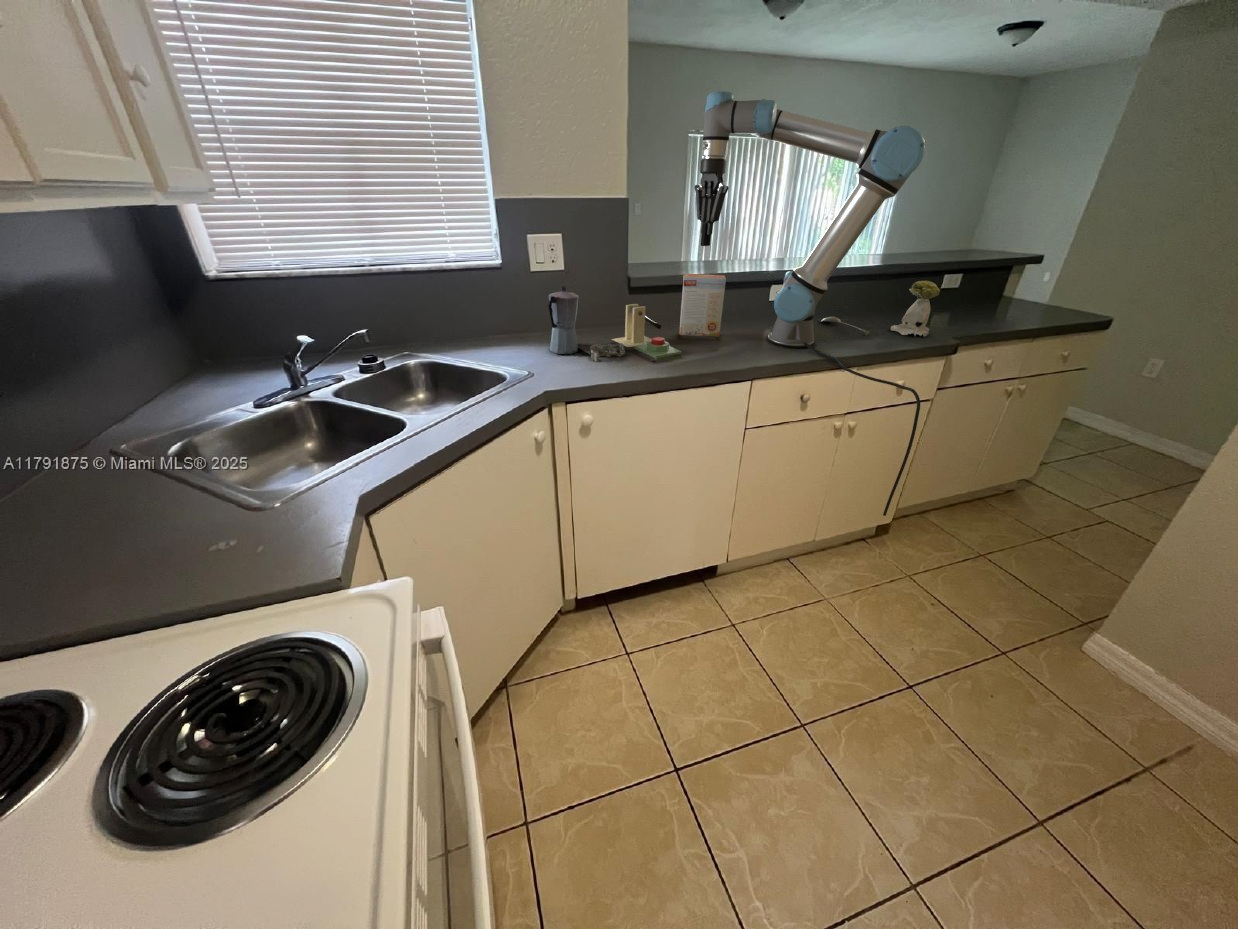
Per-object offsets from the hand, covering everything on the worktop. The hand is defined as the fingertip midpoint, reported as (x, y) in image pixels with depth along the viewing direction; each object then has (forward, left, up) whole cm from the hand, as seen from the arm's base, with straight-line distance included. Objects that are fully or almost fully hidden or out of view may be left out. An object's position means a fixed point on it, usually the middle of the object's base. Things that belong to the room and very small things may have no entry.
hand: (705, 245), depth 154 cm
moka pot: (+11, +46, -31) cm, 56 cm away
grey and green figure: (-32, -78, -31) cm, 90 cm away
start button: (-7, +22, -27) cm, 35 cm away
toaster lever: (+6, +19, -23) cm, 30 cm away
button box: (-7, +22, -30) cm, 38 cm away
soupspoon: (-16, -61, -31) cm, 70 cm away
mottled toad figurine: (-1, +37, -31) cm, 48 cm away
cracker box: (+2, -3, -31) cm, 31 cm away
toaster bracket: (+6, +22, -30) cm, 38 cm away
